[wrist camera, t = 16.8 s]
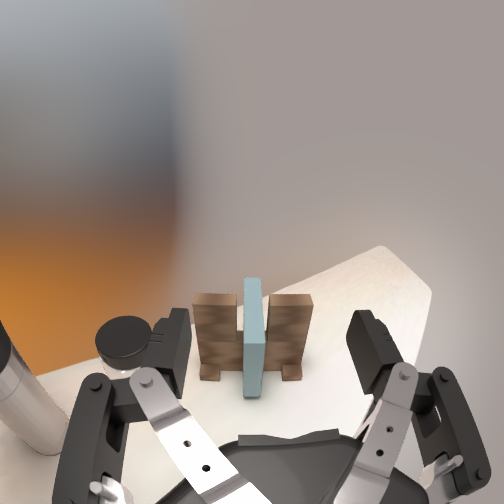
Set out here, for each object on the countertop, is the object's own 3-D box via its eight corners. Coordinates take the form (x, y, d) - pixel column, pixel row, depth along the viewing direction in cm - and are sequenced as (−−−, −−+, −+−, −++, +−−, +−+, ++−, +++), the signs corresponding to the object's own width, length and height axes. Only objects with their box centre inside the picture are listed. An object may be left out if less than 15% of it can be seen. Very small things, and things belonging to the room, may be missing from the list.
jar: (125, 364, 41) (104, 312, 35) (170, 366, 42) (156, 313, 36) (115, 407, 33) (85, 357, 27) (165, 411, 34) (145, 362, 28)
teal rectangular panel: (260, 396, 37) (265, 343, 31) (243, 396, 36) (243, 343, 31) (257, 332, 49) (260, 277, 43) (243, 332, 49) (244, 277, 43)
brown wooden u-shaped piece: (200, 380, 40) (189, 315, 33) (204, 348, 46) (197, 283, 39) (301, 380, 40) (317, 316, 34) (295, 349, 47) (307, 285, 40)
